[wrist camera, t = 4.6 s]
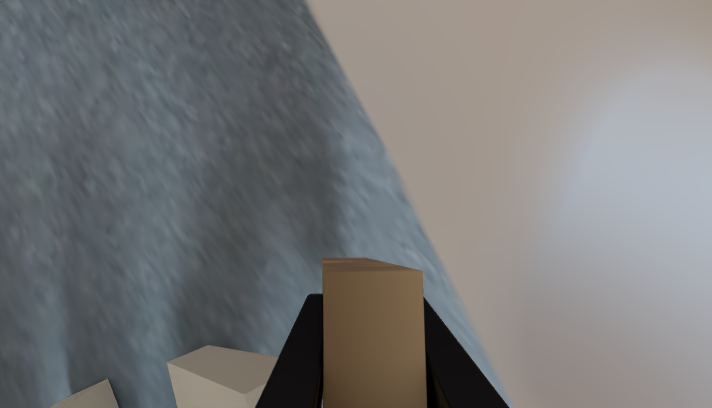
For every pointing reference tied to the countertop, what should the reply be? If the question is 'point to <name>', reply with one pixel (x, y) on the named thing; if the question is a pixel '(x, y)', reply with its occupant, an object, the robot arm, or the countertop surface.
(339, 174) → the countertop surface
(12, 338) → the countertop surface
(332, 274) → the domino
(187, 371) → the domino
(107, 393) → the domino
